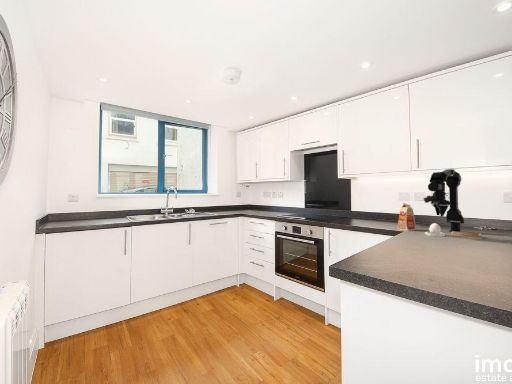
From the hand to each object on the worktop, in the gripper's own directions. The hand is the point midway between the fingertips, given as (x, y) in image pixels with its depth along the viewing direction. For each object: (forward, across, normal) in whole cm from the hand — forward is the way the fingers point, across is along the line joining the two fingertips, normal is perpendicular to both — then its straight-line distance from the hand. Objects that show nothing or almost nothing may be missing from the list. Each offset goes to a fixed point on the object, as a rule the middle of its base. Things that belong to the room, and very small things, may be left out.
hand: (439, 215), depth 155 cm
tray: (+13, -1, +13) cm, 18 cm away
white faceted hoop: (+13, -1, -2) cm, 13 cm away
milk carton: (+13, -23, -16) cm, 31 cm away
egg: (+13, -1, -2) cm, 13 cm away
